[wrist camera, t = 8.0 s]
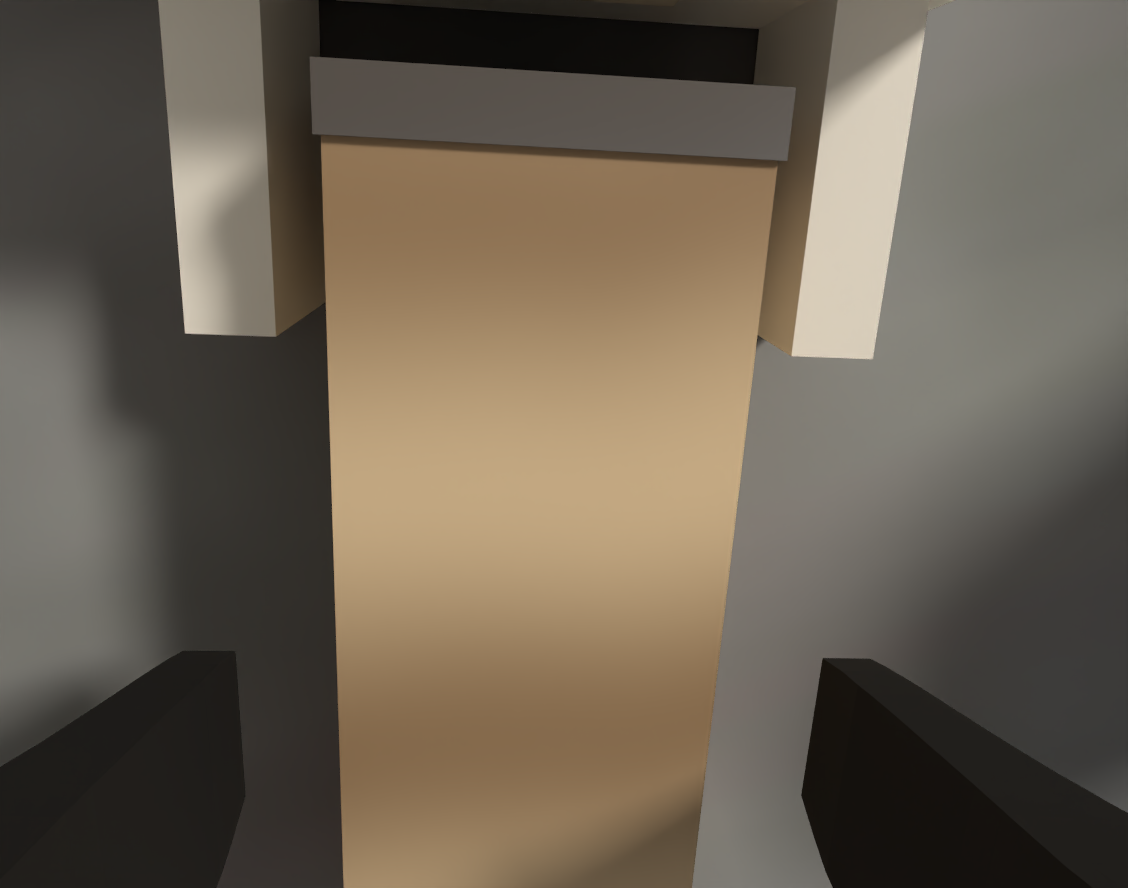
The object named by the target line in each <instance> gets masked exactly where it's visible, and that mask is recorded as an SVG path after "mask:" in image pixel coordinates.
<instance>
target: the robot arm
mask: <svg viewBox="0 0 1128 888" xmlns="http://www.w3.org/2000/svg"><path fill="white" fill-rule="evenodd" d="M801 796H802V799H803V802H804V806H805V809H806V812H807V815H808V819H809V822H810V825H811V829H812V832H813V835H814V838H815V841H816V844H817V847H818V850H819V853H820V856H821V859H822V862H823V865H824V868H825V871H826V873H827V876H828V878H829V880H830V882H831V885H832V887H833V888H1128V813H1127V812H1125V811H1123V810H1121V809H1119V808H1117V807H1116V806H1114V805H1112V804H1110V803H1108V802H1107V801H1105V800H1103V799H1101V798H1100V797H1098V796H1096V795H1094V794H1093V793H1091V792H1089V791H1087V790H1086V789H1084V788H1082V787H1080V786H1079V785H1077V784H1075V783H1073V782H1072V781H1070V780H1068V779H1066V778H1065V777H1063V776H1061V775H1059V774H1058V773H1056V772H1054V771H1053V770H1051V769H1049V768H1048V767H1046V766H1044V765H1043V764H1041V763H1039V762H1038V761H1036V760H1034V759H1033V758H1031V757H1029V756H1028V755H1026V754H1024V753H1023V752H1021V751H1019V750H1018V749H1016V748H1015V747H1013V746H1011V745H1010V744H1008V743H1006V742H1005V741H1003V740H1002V739H1000V738H999V737H997V736H995V735H994V734H992V733H991V732H989V731H987V730H986V729H984V728H983V727H981V726H980V725H978V724H976V723H975V722H973V721H972V720H970V719H969V718H967V717H965V716H964V715H962V714H961V713H959V712H958V711H956V710H954V709H953V708H951V707H950V706H948V705H947V704H945V703H944V702H942V701H940V700H939V699H937V698H936V697H934V696H933V695H931V694H929V693H928V692H926V691H925V690H923V689H922V688H920V687H918V686H917V685H915V684H914V683H912V682H910V681H909V680H907V679H905V678H904V677H902V676H901V675H899V674H897V673H895V672H894V671H892V670H890V669H889V668H887V667H885V666H883V665H881V664H879V663H877V662H875V661H873V660H871V659H843V658H823V660H822V666H821V673H820V679H819V685H818V692H817V698H816V705H815V711H814V717H813V724H812V730H811V737H810V743H809V749H808V756H807V762H806V769H805V775H804V781H803V788H802V794H801ZM244 798H245V783H244V769H243V754H242V740H241V726H240V711H239V697H238V683H237V668H236V654H235V651H182V652H180V653H178V654H177V655H175V656H173V657H171V658H170V659H168V660H166V661H165V662H163V663H161V664H160V665H158V666H157V667H155V668H153V669H152V670H150V671H149V672H147V673H146V674H144V675H143V676H141V677H140V678H138V679H137V680H135V681H134V682H132V683H131V684H129V685H128V686H126V687H125V688H123V689H122V690H120V691H119V692H117V693H116V694H114V695H113V696H111V697H110V698H108V699H107V700H105V701H104V702H102V703H101V704H99V705H98V706H96V707H94V708H93V709H91V710H90V711H88V712H87V713H85V714H84V715H82V716H81V717H79V718H78V719H76V720H75V721H73V722H72V723H70V724H68V725H67V726H65V727H64V728H62V729H61V730H59V731H58V732H56V733H55V734H53V735H52V736H50V737H49V738H47V739H46V740H44V741H42V742H41V743H39V744H38V745H36V746H34V747H33V748H31V749H29V750H28V751H26V752H24V753H23V754H21V755H19V756H18V757H16V758H14V759H13V760H11V761H9V762H8V763H6V764H4V765H3V766H1V767H0V888H216V886H217V884H218V882H219V879H220V877H221V874H222V871H223V868H224V865H225V861H226V858H227V855H228V852H229V849H230V846H231V843H232V839H233V836H234V833H235V829H236V826H237V822H238V819H239V815H240V812H241V809H242V805H243V802H244Z"/></svg>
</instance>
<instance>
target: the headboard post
mask: <svg viewBox="0 0 1128 888" xmlns="http://www.w3.org/2000/svg"><path fill="white" fill-rule="evenodd" d="M338 1H353V2H368V3H383V4H397V5H412V6H427V7H441V8H456V9H471V10H486V11H500V12H515V13H530V14H544V15H559V16H574V17H589V18H603V19H618V20H633V21H648V22H662V23H677V24H692V25H706V26H721V27H736V28H751V29H759V36H758V45H757V55H756V64H755V73H754V83H753V85H765V86H781V87H796V93H795V101H794V109H793V118H792V126H791V134H790V142H789V150H788V159H787V161H778V167H777V175H776V183H775V192H774V200H773V209H772V217H771V225H770V234H769V242H768V251H767V259H766V268H765V276H764V284H763V293H762V301H761V310H760V318H759V326H758V336H760V337H762V338H763V339H765V340H766V341H768V342H770V343H771V344H773V345H774V346H776V347H778V348H779V349H781V350H782V351H784V352H786V353H787V354H789V355H791V356H804V357H830V358H857V359H873V354H874V348H875V341H876V335H877V329H878V323H879V316H880V310H881V304H882V297H883V291H884V285H885V279H886V272H887V266H888V260H889V253H890V247H891V241H892V235H893V228H894V222H895V216H896V209H897V203H898V197H899V191H900V184H901V178H902V172H903V165H904V159H905V153H906V147H907V140H908V134H909V128H910V121H911V115H912V109H913V103H914V96H915V90H916V84H917V77H918V71H919V65H920V59H921V52H922V46H923V40H924V33H925V27H926V21H927V15H928V11H930V10H932V9H935V8H937V7H940V6H942V5H945V4H947V3H950V2H953V1H955V0H338ZM158 4H159V16H160V29H161V41H162V53H163V66H164V78H165V91H166V103H167V115H168V128H169V140H170V152H171V165H172V177H173V190H174V202H175V214H176V227H177V239H178V252H179V264H180V276H181V289H182V301H183V314H184V326H185V333H186V334H213V335H240V336H267V337H276V336H278V335H279V334H281V333H282V332H284V331H285V330H286V329H288V328H289V327H291V326H292V325H294V324H295V323H296V322H298V321H299V320H301V319H302V318H304V317H305V316H306V315H308V314H309V313H311V312H312V311H314V310H315V309H316V308H318V307H319V306H321V305H322V304H324V303H325V302H326V291H325V259H324V226H323V193H322V160H321V136H319V135H315V134H312V111H311V81H310V56H311V57H320V32H319V0H158Z"/></svg>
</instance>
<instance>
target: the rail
mask: <svg viewBox="0 0 1128 888" xmlns="http://www.w3.org/2000/svg"><path fill="white" fill-rule="evenodd" d="M310 81H311V111H312V134H315V135H319V136H321V160H322V193H323V226H324V259H325V291H326V324H327V357H328V390H329V423H330V455H331V488H332V521H333V554H334V587H335V619H336V652H337V685H338V718H339V751H340V783H341V816H342V849H343V882H344V888H692V881H693V873H694V864H695V856H696V848H697V839H698V831H699V822H700V814H701V806H702V797H703V789H704V780H705V772H706V763H707V755H708V747H709V738H710V730H711V721H712V713H713V705H714V696H715V688H716V679H717V671H718V663H719V654H720V646H721V637H722V629H723V621H724V612H725V604H726V595H727V587H728V579H729V570H730V562H731V553H732V545H733V537H734V528H735V520H736V511H737V503H738V494H739V486H740V478H741V469H742V461H743V452H744V444H745V436H746V427H747V419H748V410H749V402H750V394H751V385H752V377H753V368H754V360H755V352H756V343H757V335H758V326H759V318H760V310H761V301H762V293H763V284H764V276H765V268H766V259H767V251H768V242H769V234H770V225H771V217H772V209H773V200H774V192H775V183H776V175H777V167H778V161H787V159H788V150H789V142H790V134H791V126H792V118H793V109H794V101H795V93H796V87H781V86H765V85H750V84H734V83H718V82H703V81H687V80H671V79H656V78H640V77H624V76H609V75H593V74H577V73H562V72H546V71H530V70H514V69H499V68H483V67H467V66H452V65H436V64H420V63H405V62H389V61H373V60H358V59H342V58H326V57H311V56H310Z"/></svg>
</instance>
